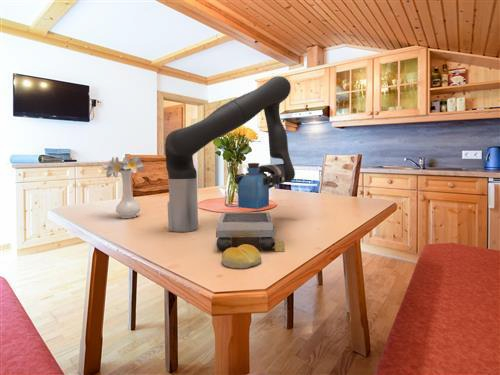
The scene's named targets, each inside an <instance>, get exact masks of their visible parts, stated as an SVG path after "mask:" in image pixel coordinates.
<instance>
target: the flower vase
mask: <svg viewBox="0 0 500 375" xmlns="http://www.w3.org/2000/svg"><path fill="white" fill-rule="evenodd" d="M119 159H120V158H119V157H118V156H116V157H114V156H113V157H111V160H108V161H107V162H108V163H107V164H106V165H105V164H103V165H101V168H102V169H103V170H104V171H106V172H105V177H106V178H110V177H112V175H113V177H114V178H118V175H119V173H120V174H121V179H122V197H121V200H120V201H119V203H118V204H117V205H116V208H115V212H116V213H117V215H119V216H120V218H121V219H123V218H129V219H133V218H132V217H135V218H137V217H136V216H138V215H137V214H139V213H140V211H141V205H140V204H139V203H138V202H137V201H136V200H135V197H134V196H133V192H132V173H134V174H136V173H137V172H138V171H140V172H141V173H142V174H143V173H144V172H143V170H146V168H147V167H146V166H145V165H144V164H143V163H142V158H141V157H138V156H137V155H133V157H132V158H131V159H130V158H129V157H127V156H123V159H122V161H120V160H119Z"/></svg>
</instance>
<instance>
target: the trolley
mask: <svg viewBox="0 0 500 375" xmlns="http://www.w3.org/2000/svg"><path fill="white" fill-rule="evenodd" d="M215 237H216V238H217V240H216V247H217V249H218V250H219V251H222V252H224V251H225V250H226V249H228V248H232V246H233V239H232V238H259V239H258V245H259V248H260V249H261V250H262V251H265V252H269V251H271V250H273V249H274V251H275V252H278V253H279V252H285V249H286V248H285V244H286V243H285V242H284V240H275V239H274V238H275V237H276V229H275V227H274V222H273V219H272V216H271V214H270V211H257V212H255V211H253V212H251V211H250V212H249V211H246V212H244V211H243V212H242V211H241V212H240V211H239V212H236V211H235V212H222V213H221V216H220V217H219V220H218V222H217V228H216V230H215Z"/></svg>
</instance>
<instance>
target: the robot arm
mask: <svg viewBox="0 0 500 375" xmlns="http://www.w3.org/2000/svg"><path fill="white" fill-rule="evenodd" d="M291 88H292V86H291V83H290V81H289V80H288V79H287V78H286V77H283V76H278V75H277V76H273V77H271V78H270V79H269V80H268V81H266V82H265V83H264V84H262V85H260V86H259V87H257V88H255V89H254V90H252V91H250V92H249V91H248V92H247V93H245V94H243V95H240V96H238V97H236V98H235V99H231V100H230V101H228V102H226V103H225V104H223V105H221V106H219V107H218V108H216V109H215V110H214V111H213V112H211V113H210V114H208V116H206V117H205V118H204V119H202V120H200V121H197V122H195V123H194V124H191V125H188V126H186V127H183V128H179V129H175V130H173V131H171V132H170V133H168V134H167V136H166V138H165V141H164V142H165V143H164V150H165V151H164V152H165V164H166V166H165V167H166V170H167V176H168V199H169V200H168V202H167V219H168V220H167V221H168V222H167V223H168V227H167V228H168V231H169V232H177V233H185V232H186V233H187V232H193V231H196V230H198V229H199V209H198V208H199V207H198V206H199V205H198V204H199V203H198V178H197V177H198V175H197V174H198V172H197V169H196V166H194V158H193V156H194V155H195V154H196V153H198V152H199V151H200V150H202V149H203V148H205V146H208V145H209V144H210V143H212V142H213V141H215V139H218V138H220V137H222V136H225V135H226V134H229V133H231V132H232V131H234V130H236V129H238V128H240V127H241V126H243V125H245V124H246V123H248V122H249V121H251V120H252V119H254V118H255V117H256V116H257V115H259V113H261V112H262V111H263V113H264V118H265V122H266V127H267V134H268V146H269V156H270V157H271V158H272V159H278V160H282V161H283V163H276V164H275V163H274V164H264V165H259V167H258V168H260V171H259V175H264V177H263V185H269V190H270V189H272V188H274V187H276V186H279V185H282V184H284V183H290V182H292V181H293V180H294V179H295V176H296V171H295V168H294V166H293V163H292V159H291V157H290V154H289V143H288V135H287V132H286V131H287V130H286V128H285V127H284V125H283V122H282V119H281V117H280V106H281V105H280V104H281V103H283V101H285V100H286V99H287V98H288V97H289V95H290V93H291V91H292V89H291ZM245 175H248V172H245V173H243V172H242V173H239V174H234V184H236V185H237V186H238V184H239V182H240V181H241V179H242V177H243V176H245Z"/></svg>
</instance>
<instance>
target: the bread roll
mask: <svg viewBox="0 0 500 375" xmlns="http://www.w3.org/2000/svg"><path fill="white" fill-rule="evenodd" d="M221 262H222V264H223V265H224V266H225V267H227V268H230V269H231V268H232V269H248V268H251V267H255V266H257V265H259V264H261V262H262V256H261V253H260V251H259V249H258V248H256V247H255V246H254V245H251V244H247V243H244V244H241V245H239V246H237V247H234V246H233V247H232V246H231V248H228V249H226V250H225V251H222V255H221Z"/></svg>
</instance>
